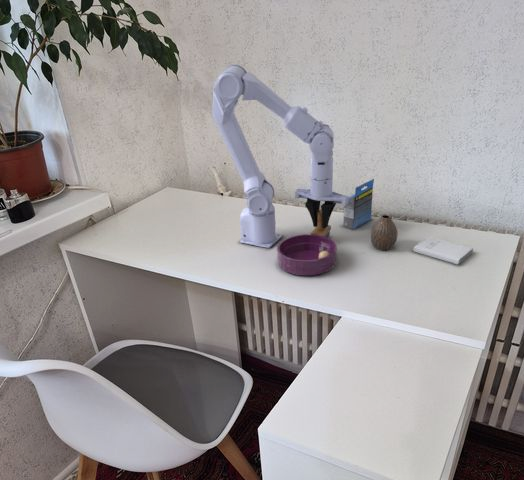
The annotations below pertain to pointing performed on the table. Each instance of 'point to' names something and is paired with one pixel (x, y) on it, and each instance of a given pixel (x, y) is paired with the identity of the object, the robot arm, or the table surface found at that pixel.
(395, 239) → the vase
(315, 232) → the brush
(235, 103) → the robot arm
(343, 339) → the table surface
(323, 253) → the dough ball
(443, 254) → the hard drive
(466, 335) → the table surface
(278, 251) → the bowl
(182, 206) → the table surface
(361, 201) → the tape cartridge
